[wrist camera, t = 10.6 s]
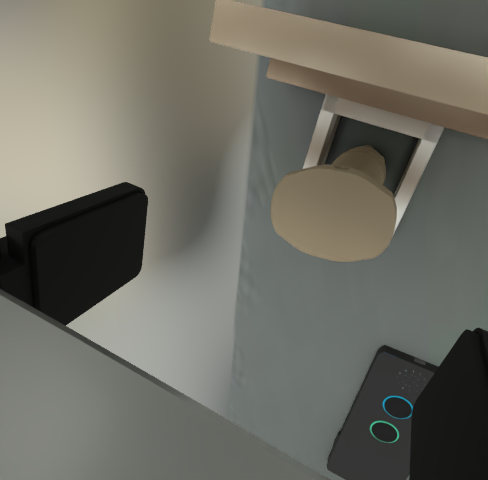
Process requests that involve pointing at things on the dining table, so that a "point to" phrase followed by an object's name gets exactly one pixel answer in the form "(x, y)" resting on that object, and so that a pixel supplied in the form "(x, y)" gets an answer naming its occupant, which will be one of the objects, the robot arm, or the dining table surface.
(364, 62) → the wooden wall shelf
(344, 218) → the handle
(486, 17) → the dining table surface
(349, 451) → the smart home device
